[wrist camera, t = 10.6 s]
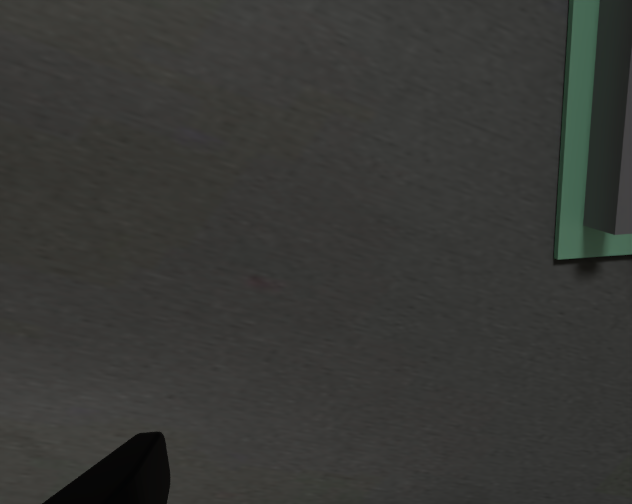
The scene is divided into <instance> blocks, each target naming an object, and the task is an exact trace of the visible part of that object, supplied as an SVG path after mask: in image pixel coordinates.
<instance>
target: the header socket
mask: <svg viewBox="0 0 632 504" xmlns="http://www.w3.org/2000/svg"><path fill="white" fill-rule="evenodd" d="M629 254H632V0H569V15H568V31H567V48H566V64H565V81H564V97H563V114H562V130H561V147H560V163H559V180H558V196H557V213H556V229H555V246H554V258H555V259H557V260H559V259H573V258H587V257H601V256H615V255H629Z"/></svg>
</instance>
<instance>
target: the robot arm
mask: <svg viewBox="0 0 632 504" xmlns="http://www.w3.org/2000/svg"><path fill="white" fill-rule="evenodd" d="M169 489H170V469H169V462H168V456H167V449H166V442H165V438H164V435H163V434H162V433H161V432H147V433H139V434H137V435H135V436H134V437H132V438H131V439H130V440H128V441H127V442H126V443H124V444H123V445H121V446H120V447H119V448H117V449H116V450H115V451H113V452H112V453H111V454H109V455H108V456H106V457H105V458H104V459H102V460H101V461H100V462H98V463H97V464H96V465H94V466H93V467H91V468H90V469H89V470H87V471H86V472H85V473H83V474H82V475H81V476H79V477H78V478H76V479H75V480H74V481H72V482H71V483H70V484H68V485H67V486H65V487H64V488H63V489H61V490H60V491H59V492H57V493H56V494H55V495H53V496H52V497H50V498H49V499H48V500H46V501H45V502H44V503H42V504H167V499H168V494H169Z"/></svg>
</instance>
